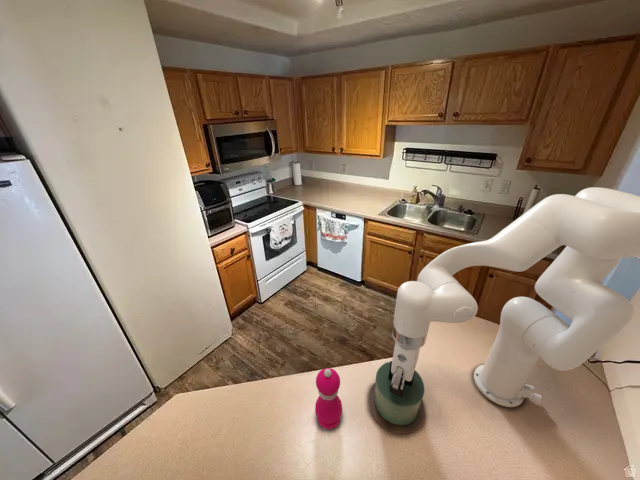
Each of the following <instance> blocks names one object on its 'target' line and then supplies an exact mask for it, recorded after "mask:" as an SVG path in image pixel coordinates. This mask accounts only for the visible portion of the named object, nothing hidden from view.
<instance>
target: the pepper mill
mask: <svg viewBox="0 0 640 480" xmlns="http://www.w3.org/2000/svg"><path fill="white" fill-rule="evenodd" d="M315 386H316V389H317V391H318V394H319V395H318V396H317V399H316V401H315V406H314V409H315V414H316V415H315V416H316V417H317V421H318V424H319V425H320V426H321V427H322V428H324V429H326V430H333V429H334V428H336V427H337V426H338V425H339V424H340V421H341V416H342V413H343V403H342V401H341V398H340V397H339V395H338V394H339V390H340V386H341V377H340V375H339V373H338V372H337V371H336V370H335V369H333V368H330V367H325V368H323V369H321V370H320V371H319V372H318V373H317V375H316V378H315Z"/></svg>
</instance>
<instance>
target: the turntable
mask: <svg viewBox="0 0 640 480" xmlns="http://www.w3.org/2000/svg"><path fill="white" fill-rule="evenodd" d="M375 386H376V381H375V382H374V383H373V384H372V385H371V387H370V390H369V392H368V393H369V394H368V407H369V410H370V413H371V415H372V417H373V418H374V420H375V421H376V423H377V424H378V425H379V426H380V427H382V428H383V429H384V430H386V431H388V432H390V433H392V434H395V435H409V434H412V433H414V432H415V431H417V430H418V429H419V428H420V426H421V425H422V423H423V421H424V417H425V416H424V415H425V406H424V401H423V399H422V400H421V403H420V407H419V411H418V414H417V417H416V418H415V420H414V421H412V422H411V423H409V424H406V425H396V424H393V423H391V422H389V421H387V420H386V419H385V418H383V417H382V415H381V414H380V413H379V412H378V410H377V408H376V405H375V401H374V395H375Z"/></svg>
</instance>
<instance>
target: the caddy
mask: <svg viewBox="0 0 640 480" xmlns="http://www.w3.org/2000/svg"><path fill="white" fill-rule="evenodd" d="M391 367H392V360H390V361H387V362H384V363H383V364H382V365H381V366H380V367H378V369H377V371H376V374H375V382H376V386H375V395H374V401H375V405H376V408H377V410H378V412H379V413H380V414H381V415H382V417H383V418H385V419H386V420H387V421H389V422H391V423H393V424H396V425H406V424H409V423H411V422H412V421H414V420H415V418H416V417H417V414H418V411H419V407H420V403H421V400H422V401H423V398H424V397H425V396H424V395H425V383H424V381H423V378H422V377H421V375H420V373H419V372H418V371H417V370H416V369H415V371H414V374H413V378H412V380H411V381H406V380H405V382H404V386H405V388H404V393H403V397H399V396H396V395H394V394H393V393H391V392H390V384H391V380H392V378H393V374H392V372H391ZM396 372H397V371H396ZM402 374H403V373H402ZM402 380H403V378H401V380H400V383H402Z"/></svg>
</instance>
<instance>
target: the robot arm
mask: <svg viewBox="0 0 640 480" xmlns="http://www.w3.org/2000/svg"><path fill="white" fill-rule="evenodd" d="M561 246H565V248H563V250H562V251H561V252H560V253H559V254H558V256H557V257H556V258H555V259H554V260H553V261H552V263H551V264H550V265H549V266H548V267H547V268H546V269H545V270H544V271H543V273H542V274H541V275H540V276H539V277H538V279H537V281H536V282H535V284H534V291H535V293H536V294H537V295H538V296H539V297H540V298H541V299H542V300H544V301H545V302H546V303H547V304H549V305H550V306H551V307H553V308H554V309H555V310H557V311H558V312H559V313H560V314H562V315H564V316H565V317H566V318H567V319H569V320H570V321H571V322H570V324H568V323H567V322H566V321H564V319H562V318H561V317H560V316H558V315H557V313H555V312H553V311H552V310H551V309H549V308H548V307H547V306H545V305H544V304H542V303H541V302H539V301H537V300H535V299H534V298H531V297H528V296H516V297H513V298H511V299H509V300H508V301H507V302H506V303H505V304H504V305H503V307H502V310H501V312H500V318H499V320H500V321H499V328H498V331H497V334H496V336H495V339H494V341H493V344H492V346H491V348H490V351H489V352H488V355H487V358H486V360H485V363H484V364H480V365H478V367H476V368H475V370H474V371H473V381H474V384H475V385H476V387H477V389H478V390H479V391H480V393H481V394H482V395H483V396H484V397H486V398H487V400H490V401H491V402H493V403H495V404H497V405H499V406H502V407H505V408H516V407H518V406H520V405H521V404H522V403H523V402H524V400H525V399H527V398H528V399H531V400H532V401H534V402H537V403H539V404H540V403H542V399H543V397H542V395H541V394H538V393H536V392H535V390H536V388H535V386H534V385H531V384H529V383H528V384H527V383H526V381H527V379H528V378H529V375H530V374H531V372H532V370H533V368H534V367H535V365H536V364H537V362H538V360H539V359H541V360H542V361H543V362H544V363H545V364H546V365H548V366H549V367H550V368H552V369H554V370H556V371H560V372H567V371H572V370H574V369H576V368H577V367H580V366H581V365H582V364H584V363H585V362H586V361H588V360H589V359H590V358H591V357H592V356H593V355H595V353H597V352H598V351H599V350H601V348H603V347H604V346H605V345H606V344H607V343H608V342H610V341H611V340H612V339H614V338H615V336H617V335H618V334H619V333H620V332H621V331H622V330H623V329H624V328H625V327H626V326H627V325H628V324H629V323H630V321H631V319H632V318H633V315H634V307H633V304H632V303H631V301H630V300H629V299H628V298H626V297H625V296H624V295H622V294H621V293H619V292H618V291H616V290H614V289H612V288H610V287H609V286H608V285H607V286H606V285H605V284H603V281H604V280H605V278H606V277H607V276H608V275H609V274H610V273H611V272H612V271H613V270H614V269H615V268H616V267H617V266H618V264H619V263H620V260H621V259H626V258H634V257H640V196H639V195H636V194H632V193H629V192H625V191H621V190H617V189H613V188H607V187H599V186H593V187H586V188H583V189H581V190H580V191H578V192H577V193H576V194H575V195H572V194H566V193H557V194H556V193H555V194H552V195H549V196H547V197H544V198H543V199H541V200H540V201H539V202H537V203H536V204H535V205H533V206H532V207H530V208H529V209H528V210H527V211H525V212H524V213H522V214H521V215H520V216H518V217H517V218H516V219H515V220H514V221H512V222H510V224H508V225H507V226H505V227H504V228H502V229H501V231H499V232H497V233H496V234H495V235H494V236H492V237H491V238H489V239H486V240H481V241H480V240H479V241H475V242H470V243H465V244H462V245H457V246H454V247H451V248H449V249H447V250H445V251H443V252H441V253H440V254H439V255H438V256H437V257H435V258H434V259H432V260H431V261H430V262H429V263H428V264H427V265H425V266H424V267H423V268H422V269H421V271H420V272H419V274H418V276H417V279H416V280H409V281H404V282H403V283H402V284H400V285H399V287H398V289H397V293H396V300H395V306H394V315H393V322H392V330H391V336H392V338H393V340H394V347H393V354H392V360H391V361H392V367H391V372H392V374H393V378H392V380H391V384H390V392H391V393H393V394H394V395H396V396H399V397H403V393H404V388H405V386H404V382H405V380H406V381H411V380H412V378H413V374H414V371H415V370H416V367H417V364H418V360H419V355H420V351H421V348H422V347H424V346H425V344H426V342H427V338H428V333H429V330H430V326H431V325H430V324H431V322H436V323H446V324H461V323H467V322H469V321H471V320H472V319H473V318H474V317H476V315H477V314H478V311H479V307H478V303H477V301H476V299H475V298H474V297H473V295H472V294H471V293H470V292H469V291H468V290H467V289H466V288H464V286H463V285H462V284H461V283H460V282H459V281H458V280H457V279H456V278H455V277H454V275H455V274H456V273H458V272H460V271H462V270H464V269H466V268H470V267H478V266H482V267H491V268H496V269H502V270H506V271H511V272H519V273H520V272H525V271H527V270H529V269H530V268H531V267H533V266H534V265H536V264H537V263H538V262H539V261H541V260H543V259H544V258H546V257H547V256H548V255H550V254H551V253H552V252H554V251H556V250H557V249H558V248H560V247H561ZM396 371H397V372H396ZM402 373H403V374H402ZM401 378H403V380H402V383H400V380H401Z"/></svg>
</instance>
